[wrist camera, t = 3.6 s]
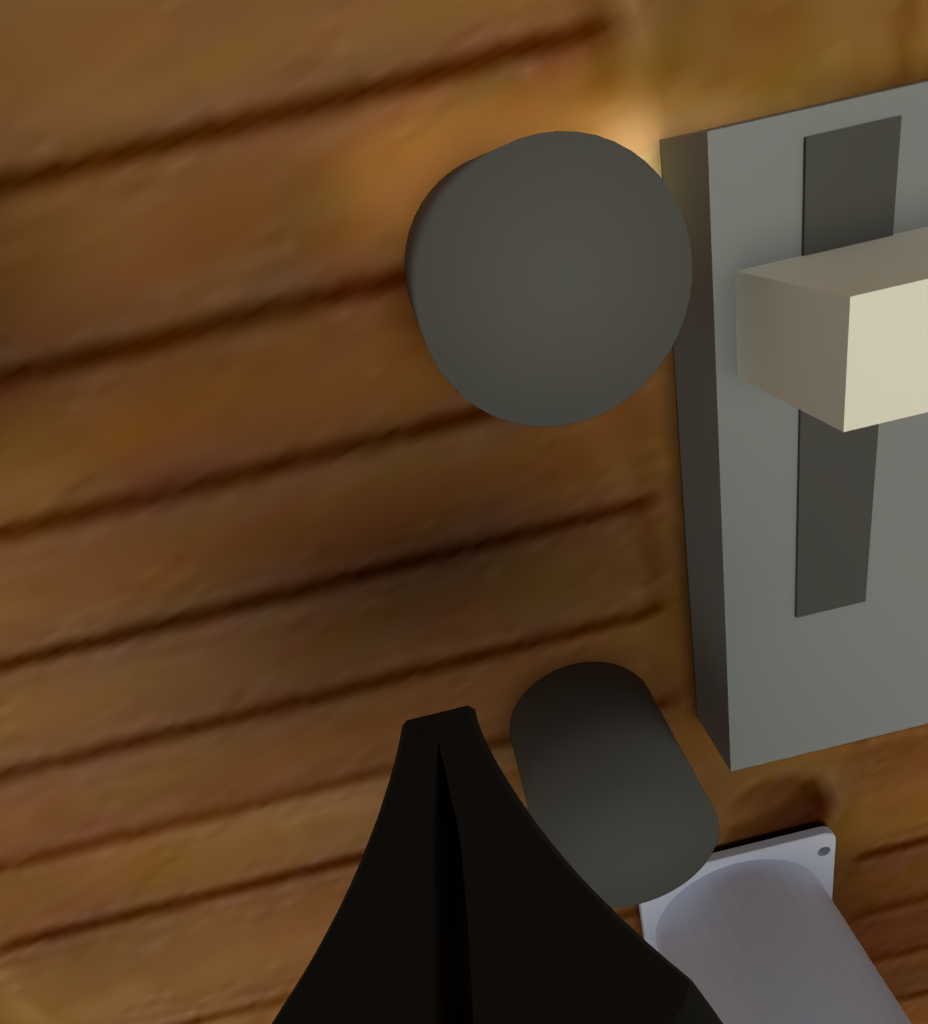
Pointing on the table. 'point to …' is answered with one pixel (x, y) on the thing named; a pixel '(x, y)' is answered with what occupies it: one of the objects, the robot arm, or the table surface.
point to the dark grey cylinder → (611, 783)
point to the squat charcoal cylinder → (549, 277)
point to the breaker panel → (806, 422)
